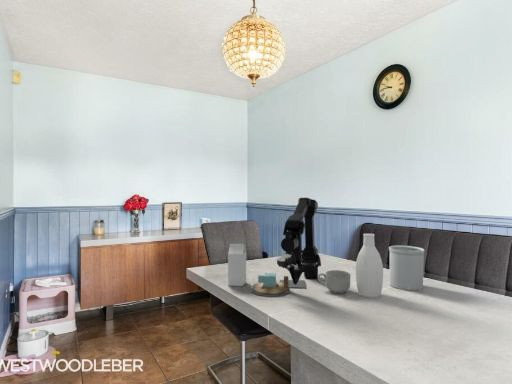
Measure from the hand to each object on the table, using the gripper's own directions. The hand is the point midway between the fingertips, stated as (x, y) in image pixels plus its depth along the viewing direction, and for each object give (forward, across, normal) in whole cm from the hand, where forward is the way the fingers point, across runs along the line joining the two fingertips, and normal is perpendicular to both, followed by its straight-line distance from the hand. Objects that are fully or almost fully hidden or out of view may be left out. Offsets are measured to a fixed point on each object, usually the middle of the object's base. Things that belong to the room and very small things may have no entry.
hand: (295, 284), depth 138 cm
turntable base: (+4, -10, -6) cm, 12 cm away
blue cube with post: (+2, -11, -7) cm, 13 cm away
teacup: (+4, +7, +16) cm, 18 cm away
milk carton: (+4, -27, -13) cm, 30 cm away
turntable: (+4, -10, -6) cm, 12 cm away
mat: (+4, -11, +8) cm, 14 cm away
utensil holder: (+4, +21, +49) cm, 53 cm away
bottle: (+4, +19, +25) cm, 31 cm away
